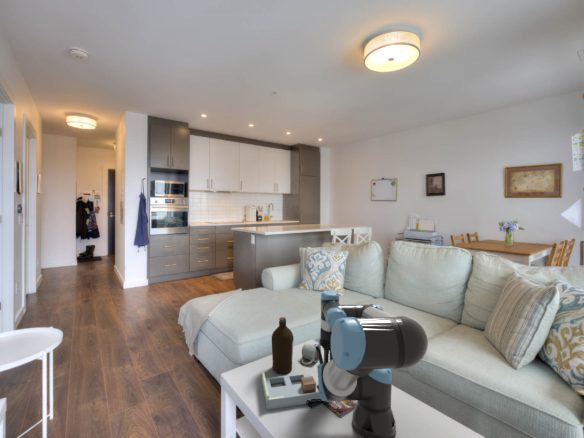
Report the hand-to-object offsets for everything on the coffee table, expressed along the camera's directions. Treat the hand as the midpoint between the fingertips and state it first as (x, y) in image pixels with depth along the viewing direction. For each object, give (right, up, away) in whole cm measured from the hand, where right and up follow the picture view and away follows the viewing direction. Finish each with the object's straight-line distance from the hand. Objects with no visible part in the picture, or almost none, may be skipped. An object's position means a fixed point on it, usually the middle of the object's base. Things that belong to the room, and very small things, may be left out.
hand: (328, 382), depth 120 cm
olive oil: (-20, -4, +17) cm, 27 cm away
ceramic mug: (-6, -3, +25) cm, 26 cm away
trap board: (-16, -4, 0) cm, 17 cm away
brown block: (-9, -2, -2) cm, 9 cm away
